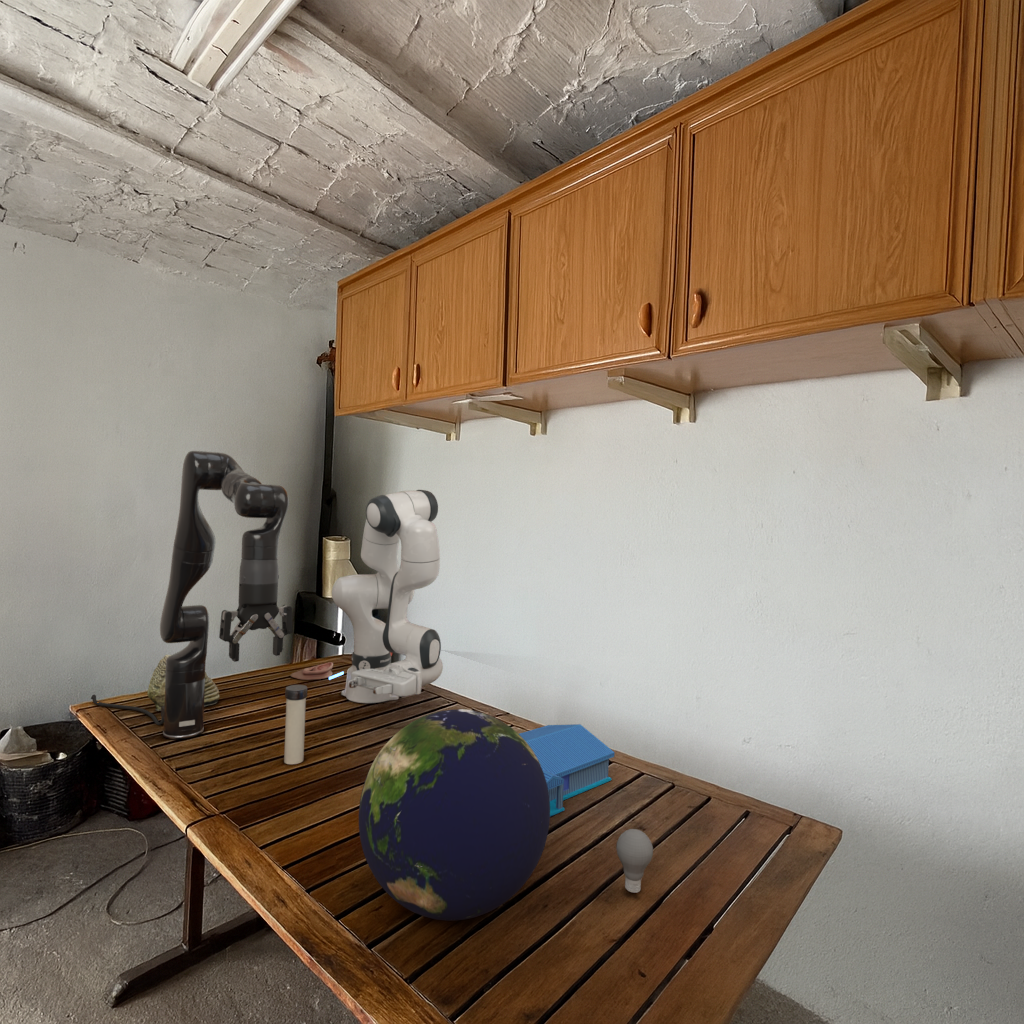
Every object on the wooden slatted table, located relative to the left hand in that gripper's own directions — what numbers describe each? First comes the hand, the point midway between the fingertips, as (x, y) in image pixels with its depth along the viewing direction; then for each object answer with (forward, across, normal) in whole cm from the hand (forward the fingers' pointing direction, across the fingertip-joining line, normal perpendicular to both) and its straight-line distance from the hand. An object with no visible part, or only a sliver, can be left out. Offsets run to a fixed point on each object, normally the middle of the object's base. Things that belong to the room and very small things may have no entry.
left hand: (256, 657), depth 132 cm
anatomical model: (+29, -50, -75) cm, 95 cm away
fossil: (+29, -6, -67) cm, 73 cm away
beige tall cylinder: (+29, -15, -12) cm, 35 cm away
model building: (+29, -48, +33) cm, 65 cm away
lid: (+12, -15, -12) cm, 23 cm away
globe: (+29, -11, +54) cm, 62 cm away
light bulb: (+29, -36, +71) cm, 85 cm away
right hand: (+16, -35, -16) cm, 42 cm away
